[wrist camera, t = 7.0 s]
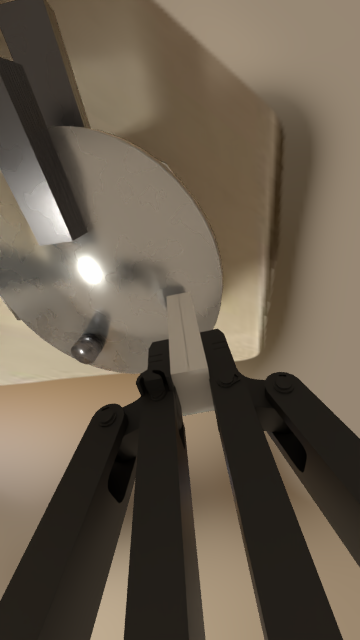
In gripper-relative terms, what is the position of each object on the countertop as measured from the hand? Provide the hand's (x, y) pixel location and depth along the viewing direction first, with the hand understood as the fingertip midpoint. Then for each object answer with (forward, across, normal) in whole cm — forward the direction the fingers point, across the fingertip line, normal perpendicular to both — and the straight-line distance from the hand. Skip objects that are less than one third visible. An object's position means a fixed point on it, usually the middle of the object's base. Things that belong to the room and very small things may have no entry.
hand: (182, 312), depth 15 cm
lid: (+3, -5, +3) cm, 7 cm away
